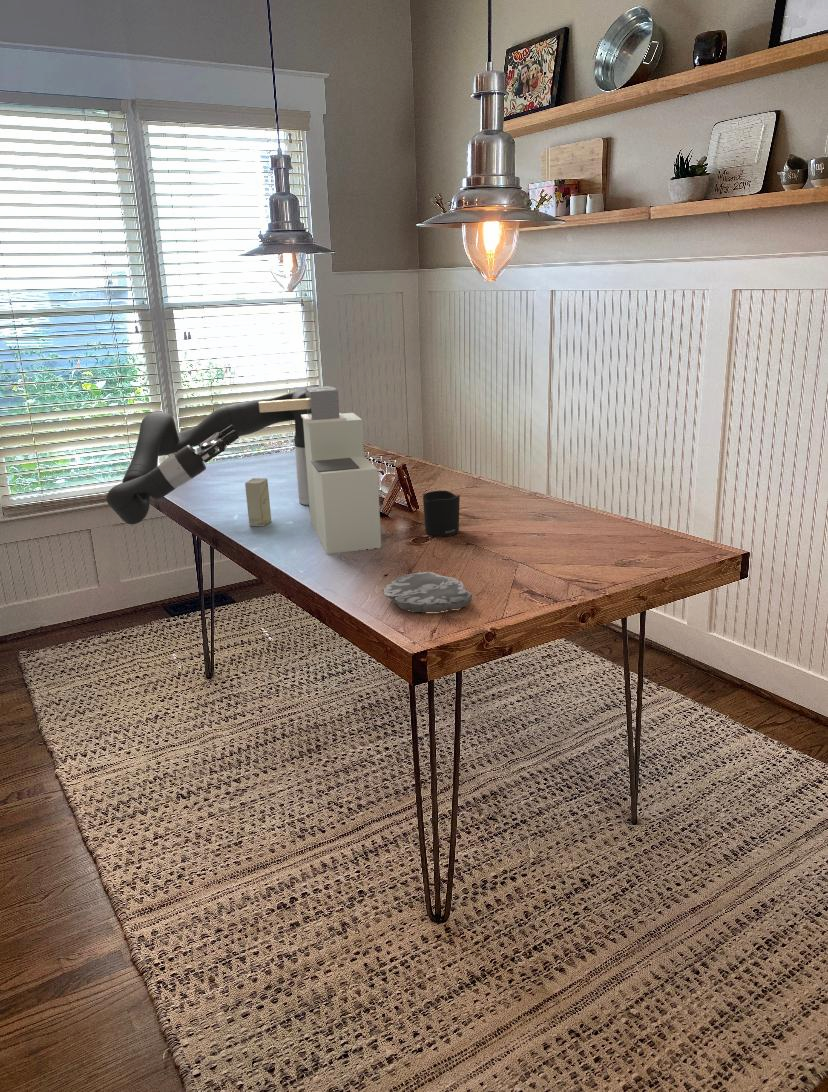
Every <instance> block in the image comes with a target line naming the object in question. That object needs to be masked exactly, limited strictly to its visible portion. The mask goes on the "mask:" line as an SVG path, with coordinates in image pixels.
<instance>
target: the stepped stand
mask: <svg viewBox="0 0 828 1092" xmlns="http://www.w3.org/2000/svg"><path fill="white" fill-rule="evenodd" d="M339 416H340V418H331V419H318V420H312V419H311V418H310V417H309V416H308V415H307V414H303V415H301V417H302V418H303V427H304V440H305V454H306V467H307V481H308V494H309V505H308V506H309V507H308V508H309V518H310V519H309V520H310V525H311V527H312V528H313V531H314V532H316V533H315V534H316V536H317V538H318V540H319V542H320V544H321V546H322V547H323V550H324V551H325V553H326V555H330V554H331V555H332V554H341V553H342V554H343V553H349V552H351V553H352V552H358V551H359V550H360V551H367V550H366V549H368V550H375V549H374V548H377V549H382V536H381V534H382V533H381V516H380V515H381V514H380V497H379V495H380V494H379V476H378V475H379V473H378V470H379V469H378V468H377V466H375V464H373V463H372V462H371V461H370V460H369V459H368V458H367V457H366V456H365V452H364V451H365V449H364V430H363V429H364V428H363V427H364V426H363V419H362V418H361V417H359V416H358V415H357V414H355V413H354V412H345V413H341V412H339Z"/></svg>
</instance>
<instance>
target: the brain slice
mask: <svg viewBox="0 0 828 1092" xmlns="http://www.w3.org/2000/svg"><path fill="white" fill-rule="evenodd" d="M464 587H465V586H464V583H463V582H462V581H460V580H458V579H457V578H455V577H451V576H447V575H441V574H437V573H435V572H432V571H419V572H415V573H414V572H413V573H410V574H404V575H401V576H397V577H396V578H395V579H393V580H391V581H390V582H389V584H386V585H385V588H383V590H382V592H383V596H385V597H386V598H388V599H391V601H393V602H394V603H395V605H397V606H398V607H399V608H400V609H402V610H404V611H406V610H410V611H414V612H423V613H424V612H441V611H446V610H452V609H459V608H461V609H463V608H462V607H464V606H465V607H466V606H468V605H469V604H470V603H471V601H472V598H473V593H472V592H470V591H469V590H467V589H465V588H464ZM465 607H464V608H465ZM410 611H409V612H410ZM414 612H413V613H414Z"/></svg>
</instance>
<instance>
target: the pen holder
mask: <svg viewBox="0 0 828 1092" xmlns="http://www.w3.org/2000/svg"><path fill="white" fill-rule="evenodd" d="M460 497H461V496H460V494H458V495H455V494H454V493H452V492H450V491H448V490H434V491H433V490H432V491H429V492H425V493H423V495H422V501H423V502H422V504H423V517H424V518H423V519H424V530H425V533H426V535H428V534H429V535H428V536H430V535H432V536H431V537H435V536H447V537H450V536H449V535H452V536H454V535H453V534H455V535H456V533H457V532H458V533H459V531H460V530H459V528H460ZM458 533H457V534H458Z"/></svg>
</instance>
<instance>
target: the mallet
mask: <svg viewBox="0 0 828 1092" xmlns="http://www.w3.org/2000/svg"><path fill="white" fill-rule="evenodd" d="M304 389H305V392H306V398H304V399H290V400H276V401H261V402H258V403H259V412H260V413H261V412H275V411H288V410H302V409H307V415H308V416H309V417H310V418H311V419H312V420H318V419H331V418H340V416H339V413H340V403H339V390H338V389H337V388H336V387H334V386H333V385H327V386H326V385H325V386H311V387H305V388H304Z"/></svg>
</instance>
